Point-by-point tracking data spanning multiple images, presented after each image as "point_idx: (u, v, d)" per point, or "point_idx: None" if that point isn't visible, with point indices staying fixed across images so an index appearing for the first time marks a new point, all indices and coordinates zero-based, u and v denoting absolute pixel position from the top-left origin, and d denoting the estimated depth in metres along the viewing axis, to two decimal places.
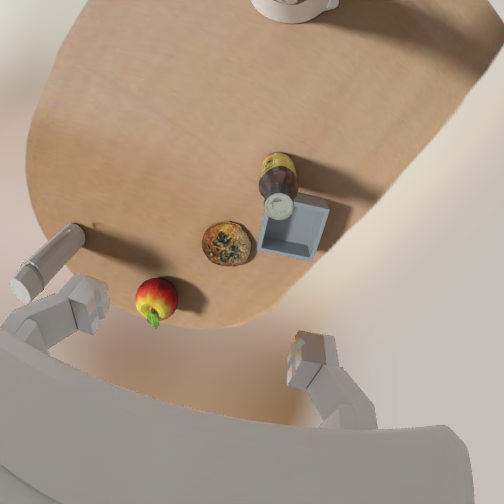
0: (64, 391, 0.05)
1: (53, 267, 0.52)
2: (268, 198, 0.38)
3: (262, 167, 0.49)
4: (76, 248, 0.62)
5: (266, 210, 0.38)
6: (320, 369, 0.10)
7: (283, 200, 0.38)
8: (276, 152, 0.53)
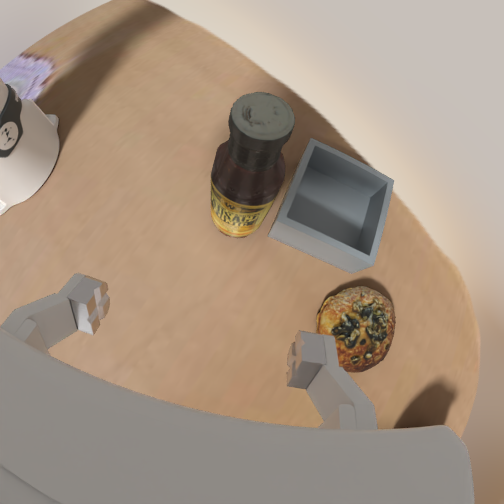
0: (64, 391, 0.05)
1: None
2: (239, 127, 0.16)
3: (221, 217, 0.29)
4: None
5: (267, 136, 0.16)
6: (320, 369, 0.10)
7: (249, 104, 0.16)
8: None
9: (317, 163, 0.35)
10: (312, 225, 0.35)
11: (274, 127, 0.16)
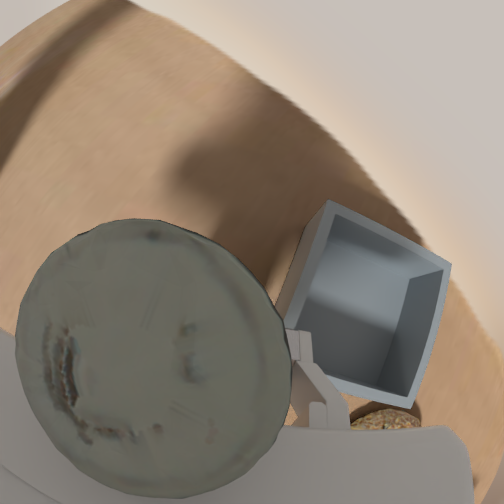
0: None
1: None
2: (50, 435, 0.03)
3: None
4: None
5: (158, 492, 0.03)
6: (294, 365, 0.10)
7: (70, 313, 0.03)
8: None
9: (335, 235, 0.22)
10: (323, 336, 0.22)
11: (185, 454, 0.03)
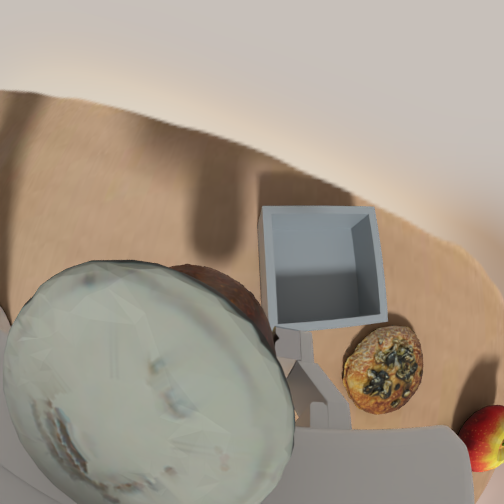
0: None
1: None
2: None
3: None
4: None
5: None
6: (294, 365, 0.10)
7: (45, 385, 0.03)
8: None
9: (280, 224, 0.30)
10: (303, 297, 0.30)
11: (207, 486, 0.02)
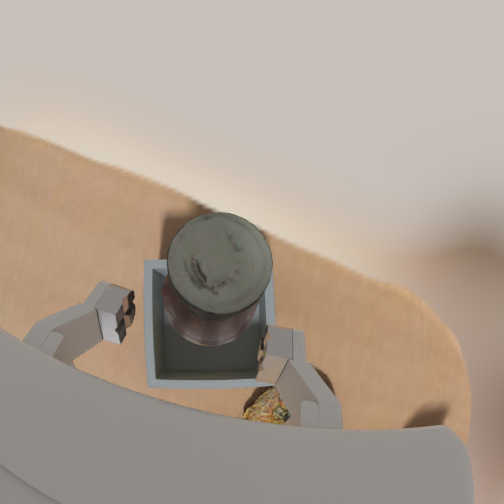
0: (64, 391, 0.05)
1: None
2: (200, 306, 0.10)
3: None
4: None
5: (248, 299, 0.10)
6: (286, 364, 0.10)
7: (191, 252, 0.10)
8: None
9: None
10: (199, 347, 0.29)
11: (248, 276, 0.11)
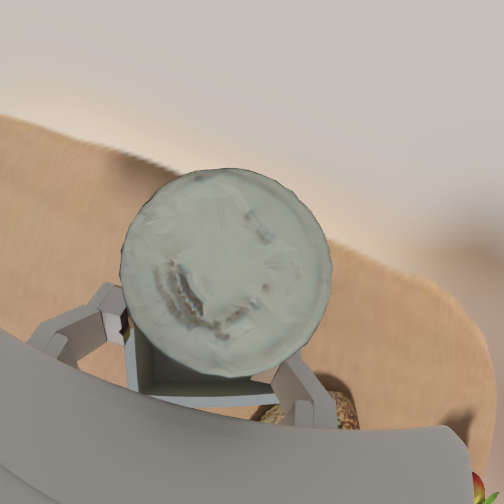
0: (64, 391, 0.05)
1: None
2: (192, 364, 0.05)
3: None
4: None
5: (291, 344, 0.05)
6: (281, 363, 0.10)
7: (168, 250, 0.05)
8: None
9: None
10: None
11: (290, 296, 0.05)
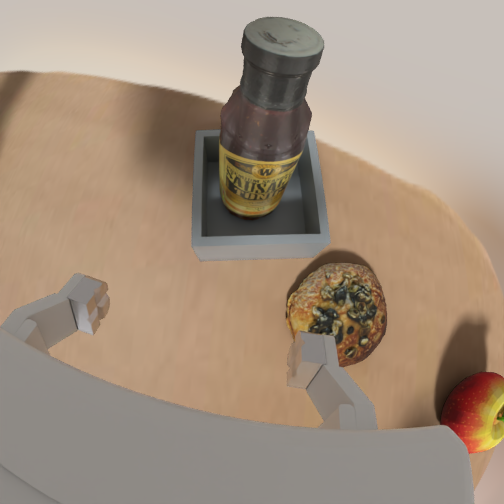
0: (64, 391, 0.05)
1: None
2: (273, 51, 0.10)
3: (249, 197, 0.23)
4: None
5: (310, 51, 0.11)
6: (320, 369, 0.10)
7: (263, 29, 0.11)
8: (223, 203, 0.29)
9: None
10: (243, 225, 0.29)
11: (308, 42, 0.11)
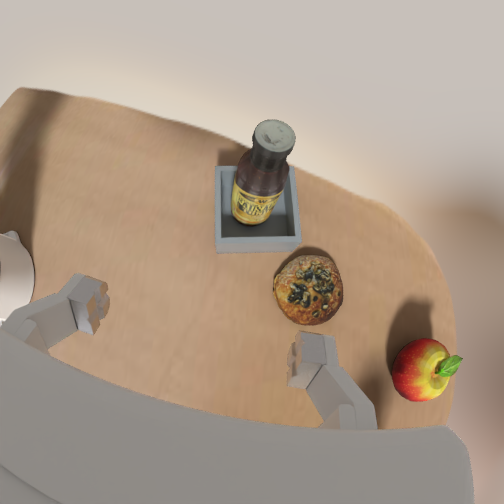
0: (64, 391, 0.05)
1: None
2: (269, 149, 0.25)
3: (251, 213, 0.38)
4: None
5: (287, 147, 0.26)
6: (320, 369, 0.10)
7: (264, 131, 0.26)
8: (232, 214, 0.44)
9: (229, 180, 0.44)
10: (245, 230, 0.44)
11: (286, 140, 0.26)
